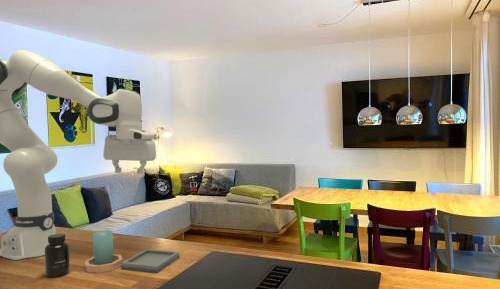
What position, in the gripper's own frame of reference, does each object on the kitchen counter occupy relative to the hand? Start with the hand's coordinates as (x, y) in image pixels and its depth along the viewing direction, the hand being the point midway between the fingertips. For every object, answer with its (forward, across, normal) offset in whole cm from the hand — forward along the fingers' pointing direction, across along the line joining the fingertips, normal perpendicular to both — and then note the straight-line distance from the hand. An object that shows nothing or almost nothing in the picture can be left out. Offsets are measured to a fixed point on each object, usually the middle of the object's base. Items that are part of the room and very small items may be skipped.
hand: (129, 173), depth 133 cm
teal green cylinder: (+29, 0, -13) cm, 32 cm away
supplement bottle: (+30, -10, -22) cm, 39 cm away
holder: (+29, 0, -13) cm, 32 cm away
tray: (+29, +14, -7) cm, 33 cm away
